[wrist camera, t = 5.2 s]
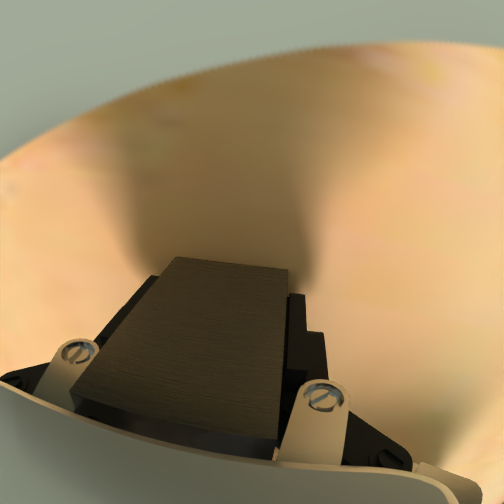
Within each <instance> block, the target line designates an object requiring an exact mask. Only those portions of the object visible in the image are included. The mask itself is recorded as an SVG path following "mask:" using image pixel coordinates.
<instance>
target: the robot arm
mask: <svg viewBox="0 0 504 504" xmlns="http://www.w3.org/2000/svg"><path fill="white" fill-rule="evenodd" d="M158 278H159V276H154V275H151V276H150V277H149V278H148V279H147V280H146V281H145V282H144V283H143V285H142V286H141V287H140V288H139V289H138V290H137V291H136V293H135V294H134V295H133V296H132V297H131V298H130V299H129V301H128V302H127V303H126V304H125V305H124V306H123V307H122V308H121V309H120V310H119V311H118V312H117V314H116V315H115V316H114V317H113V318H112V319H111V321H110V322H109V323H108V324H107V325H106V326H105V328H104V329H103V330H102V331H101V332H100V334H99V335H98V336H97V337H96V338H95V340H94V341H92V340H88V339H73V340H70V341H68V342H66V343H64V344H63V345H61V347H60V348H59V349H58V350H57V352H56V354H55V355H54V357H53V359H52V361H51V362H48V363H45V364H40V365H36V366H32V367H28V368H24V369H20V370H16V371H11V372H9V373H6V374H4V375H3V376H1V377H0V504H481V503H482V495H483V494H482V491H481V488H480V487H479V486H478V484H477V483H475V482H474V481H472V480H470V479H467V478H464V477H461V476H458V475H456V474H453V473H450V472H448V471H445V470H442V469H440V468H437V467H435V466H432V465H430V464H427V463H425V462H422V461H421V462H420V464H417V463H415V462H412V457H411V456H410V454H409V453H408V451H406V450H405V449H404V448H403V447H402V446H400V445H399V444H397V443H396V442H394V441H393V440H391V439H390V438H388V437H387V436H385V435H384V434H382V433H381V432H379V431H378V430H376V429H375V428H373V427H372V426H370V425H369V424H368V423H366V422H365V421H363V420H362V419H360V418H359V417H358V416H356V415H355V414H353V413H352V412H350V411H349V403H350V400H349V395H348V393H347V391H346V390H345V389H344V388H343V387H342V386H341V385H339V384H337V383H335V382H333V381H329V378H328V368H327V358H326V349H325V340H324V333H323V332H312V331H307V323H306V303H305V295H303V294H294V293H290V294H289V297H286V317H285V334H284V351H283V366H282V381H281V394H280V407H279V420H278V432H277V441H276V445H275V446H276V447H277V448H278V449H279V453H278V456H277V459H276V461H271V460H262V459H254V458H247V457H239V456H233V455H227V454H221V453H215V452H210V451H205V450H199V449H195V448H190V447H185V446H181V445H176V444H172V443H168V442H164V441H160V440H156V439H152V438H149V437H145V436H141V435H138V434H134V433H131V432H128V431H124V430H121V429H118V428H115V427H112V426H109V425H106V424H103V423H100V422H97V421H94V420H91V419H89V418H86V417H83V416H80V415H78V413H77V411H76V408H75V406H74V404H73V401H72V399H71V396H70V394H69V390H70V389H71V388H72V386H73V385H74V384H75V382H76V381H77V379H78V378H79V377H80V376H81V374H82V373H83V372H84V370H85V369H86V368H87V366H88V365H89V364H90V362H91V361H92V360H93V358H94V357H95V356H96V355H97V353H98V352H99V351H100V349H101V348H102V347H103V345H104V344H105V343H106V342H107V340H108V339H109V338H110V337H111V335H112V334H113V333H114V332H115V330H116V329H117V328H118V326H119V325H120V324H121V323H122V321H123V320H124V319H125V318H126V316H127V315H128V314H129V313H130V312H131V310H132V309H133V308H134V307H135V305H136V304H137V303H138V302H139V301H140V299H141V298H142V297H143V296H144V294H145V293H146V292H147V291H148V290H149V288H150V287H151V286H152V285H153V284H154V282H155V281H156V280H157V279H158Z"/></svg>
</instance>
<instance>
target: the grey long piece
mask: <svg viewBox="0 0 504 504" xmlns="http://www.w3.org/2000/svg"><path fill="white" fill-rule="evenodd" d="M287 276H288V270H284V269H275V268H266V267H258V266H249V265H241V264H232V263H224V262H215V261H207V260H199V259H190V258H182V257H176V258H175V259H174V260H173V261H172V262H171V263H170V265H169V266H168V267H167V268H166V269H165V270H164V272H163V273H162V274H161V275H160V276H159V278H158V279H157V280H156V281H155V282H154V284H153V285H152V286H151V287H150V288H149V290H148V291H147V292H146V293H145V294H144V296H143V297H142V298H141V299H140V301H139V302H138V303H137V304H136V305H135V307H134V308H133V309H132V310H131V312H130V313H129V314H128V315H127V316H126V318H125V319H124V320H123V321H122V323H121V324H120V325H119V326H118V328H117V329H116V330H115V332H114V333H113V334H112V335H111V337H110V338H109V339H108V340H107V342H106V343H105V344H104V345H103V347H102V348H101V349H100V351H99V352H98V353H97V355H96V356H95V357H94V358H93V360H92V361H91V362H90V364H89V365H88V366H87V368H86V369H85V370H84V372H83V373H82V374H81V376H80V377H79V378H78V379H77V381H76V382H75V384H74V385H73V386H72V388H71V389H70V390H69V394H70V396H71V399H72V401H73V404H74V406H75V408H76V411H77V413H78V415H80V416H83V417H86V418H89V419H91V420H94V421H97V422H100V423H103V424H106V425H109V426H112V427H115V428H118V429H121V430H124V431H128V432H131V433H134V434H138V435H141V436H145V437H149V438H152V439H156V440H160V441H164V442H168V443H172V444H176V445H181V446H185V447H190V448H195V449H199V450H205V451H210V452H215V453H221V454H227V455H233V456H239V457H247V458H254V459H262V460H271V461H272V457H273V453H274V449H275V445H276V441H277V432H278V420H279V407H280V394H281V381H282V366H283V351H284V334H285V317H286V297H287Z"/></svg>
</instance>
